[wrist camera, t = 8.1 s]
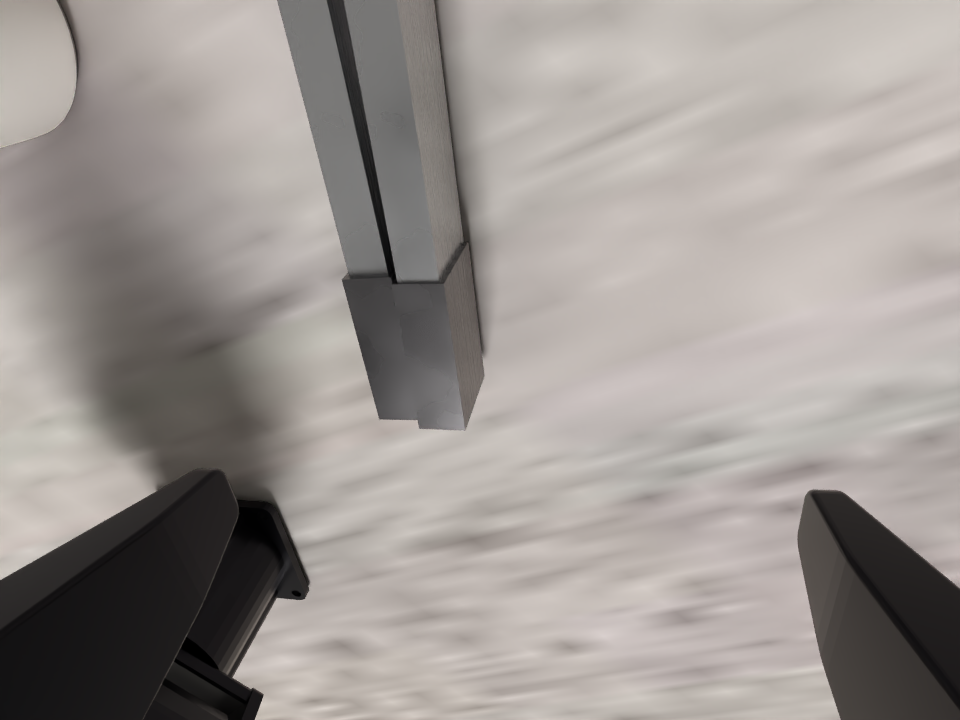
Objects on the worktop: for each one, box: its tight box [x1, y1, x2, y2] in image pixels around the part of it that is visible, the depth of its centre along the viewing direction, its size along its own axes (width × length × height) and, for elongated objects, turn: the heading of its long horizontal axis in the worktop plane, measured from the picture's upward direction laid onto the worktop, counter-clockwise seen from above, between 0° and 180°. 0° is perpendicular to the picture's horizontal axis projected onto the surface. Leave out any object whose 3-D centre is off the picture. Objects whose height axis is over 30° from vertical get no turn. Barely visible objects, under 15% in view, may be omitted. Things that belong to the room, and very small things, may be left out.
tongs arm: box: [344, 0, 484, 431], centre depth 15 cm, size 20×4×4 cm, turn 6°
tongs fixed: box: [277, 0, 418, 420], centre depth 16 cm, size 21×3×3 cm, turn 8°
